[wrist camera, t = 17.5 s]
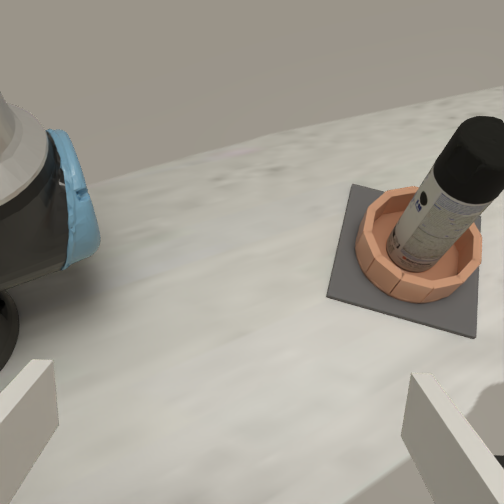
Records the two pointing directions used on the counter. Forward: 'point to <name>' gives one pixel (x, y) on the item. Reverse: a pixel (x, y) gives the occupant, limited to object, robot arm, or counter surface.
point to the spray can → (450, 195)
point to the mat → (368, 296)
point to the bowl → (401, 281)
